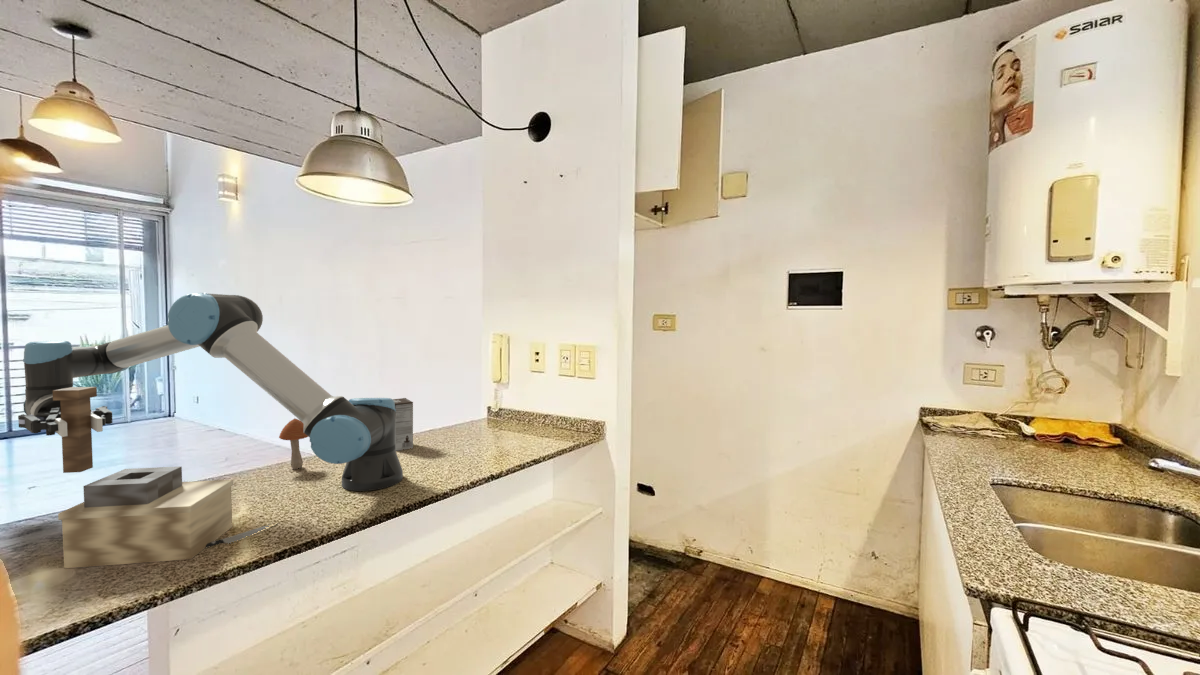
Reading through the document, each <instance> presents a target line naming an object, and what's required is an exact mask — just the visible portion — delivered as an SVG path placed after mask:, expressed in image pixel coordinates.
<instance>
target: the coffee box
mask: <svg viewBox="0 0 1200 675" xmlns="http://www.w3.org/2000/svg"><path fill="white" fill-rule="evenodd" d="M393 400H394V402H395V409H396V412H395V448H396V452H397V451H404V450H410V448H411V449H414V438H413V437H414V401H412V400H409V399H408V398H406V397H403V398H402V397H401V398H393ZM403 449H404V450H403Z"/></svg>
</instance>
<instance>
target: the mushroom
mask: <svg viewBox="0 0 1200 675" xmlns="http://www.w3.org/2000/svg"><path fill="white" fill-rule="evenodd" d="M303 428H304V424H303V422H302V421H300V420H299V419H298V418H293V419H291V420H289V421H288V423H287V424H286V425H284V427H283V428H282V429H281V431H280V433H279V436H278V439H280V440H282V441H289V442H290V448H291V449H290V450H291V457H290V466H291V469H292V468H293V469H292V470H299V469H301V468H302V467H303V463H304V462H303V457H302V454H301V450H300V440H302V439H303V440H305V438H309V437H308V436H307V435H306V434H305V433H304V432H303ZM298 468H299V469H298Z"/></svg>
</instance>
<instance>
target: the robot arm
mask: <svg viewBox="0 0 1200 675" xmlns="http://www.w3.org/2000/svg"><path fill="white" fill-rule="evenodd" d="M262 312H263V311H262V310H261V307H260V306H259V305H258V303H256V302H255V301H253V300H252V299H250V298H248V297H245V296H244V295H243V296H242V295H239V294H223V293H222V294H218V293H208V292H197V293H188V294H185V295H183V296H180V297H179V298H177V299H176V300H175V301H174V302H173V303H172V305H171V306H170V308H169V310H168V313H167V318H168V319H167V320H168V321H167V325H163V326H160V327H156V328H153V329H150V330H149V329H148V330H147V331H143V332H139V333H136V334H132V335H129V336H125V337H122V338H119V339H116V340H112V341H109V342H105V343H102V344H98V345H91V346H76V347H72V343H71V342H70V341H67V340H38V341H30V342H28V343H26V344H25V345H24V351H23V361H22V362H23V366H24V380H25V381H24V382H25V393H24V395H25V396H24V397H25V400H24V401H23V412H24V413H22V414H20V415H18V416H17V419H18V422H17V423H18V428H23V429H26V430H27V431H29V432H30V433H32V434H40V433H42V430H44V431H45V436H55V435H56V434H57V435H59V436H60V437H61V438H62V437H65V436H68V435H67V422H65V421H64V420H62V419H61V405H60V400H53V390H58V389H64V388H70V387H74V379H75V378H82V377H83V378H84V377H90V376H98V375H106V374H107V375H112V374H116V373H119V372H123V371H126V370H128V369H129V368H130V367H133V366H136V365H139V364H143V363H146V362H150V361H153V360H157V359H160V358H161V359H162V358H165V357H167V356H168V357H169V356H170V355H175V354H179V353H181V352H186V351H189V350H191V349H195V348H199V347H200V348H201V349H202V350H204V351H205V352H206V353H207V354H208V355H210V356H211V357H213V358H218V359H222V358H225V359H226V360H227V361H229V362H230V363H231V364H232V365H233V366H235V367H236V368H237V369H238V370H239V371H240V372H242V373H243V374H244V375H246V376H247V377H248V378H249V379H250V380H252V382H254V383H255V384H256V385H257V386H258V387H260V388H261V389H262V390H263V391H264V392H266V394H268V395H269V396H271V397H272V398H273V399H274V400H275V401H276V402H278V403H279V404H280V405H281V406H282V407H284V408H285V409H286V410H287V411H288V412H289V413H291V414H292V415H293V416H294V417H295V418H296V419H298V420H300V421H301V422H303V424H304V428H303V432H304V433H305V434H306V435H307V436H308V437H307V438H309V442H310V448H311V450H312V452H313V454H315V456H316V457H318V458H319V459H320V460H322V461H323V462H325V463H329V464H333V465H338V464H345V466H344V469H343V472H342V475H341V487H342V488H343V489H345V490H349V491H353V492H355V491H357V492H358V491H359V492H365V491H376V490H381V489H385V488H388V487H392V486H394V485H398V484H399V483H400V482H401V481H403V478H404V477H403V474H404V473H403V472H404V471H403V468H402V465H401V462H400V459H399V458H398V454H397V451H396V448H395V412H396V409H395V402H394V400H393V399H394V398H393V399H392V398H390V397H358V398H357V397H356V398H350V399H349V400H348V399H347V398H345V397H344V396H342V395H341V396H338V395H337V396H333V395H331V394H330V393H329V392H328V391H327V390H326V389H324V388H323V387H322V386H321V385H319V384H318V382H316V381H315V380H314V379H313V378H311V377H310V376H309V375H308V374H307V373H305V371H303V370H302V369H301V368H300V367H298V366H297V365H296V364H295V363H294V362H293V361H292V360H290V359H289V358H288V357H287V356H285V355H284V354H283V353H282V352H280V351H279V349H277V348H276V347H275V346H273V345H272V344H271V343H270V342H269V341H267V339H265V338H264V337H263V336H262V335H260V334H259V333H258V331H259V330H260V329H261V327H262V325H263V321H264V317H263V313H262ZM111 424H113V411H112V410H110V409H108V406H107V405H102V406H99V407H96V408H95V409H94V410H92V409H91V430H93V431H95V432H97V433H99V432H101V433H102V432H103V430H104V428H103V426H106V425H111Z"/></svg>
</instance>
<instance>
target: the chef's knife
mask: <svg viewBox="0 0 1200 675" xmlns="http://www.w3.org/2000/svg"><path fill="white" fill-rule="evenodd" d="M265 527H269V526H266V525H263V526H261V527H256V528H254V529H249V530H247V531H244V532H242V533H241V532H240V533H238V534H234V535H232V536H228V537H225V538H222V539H221V538H220V539H216V540H215V541H213V542H210V543H208V544H207V545H206V547H207V548H210V547H214V546H216V544H217V545H220V544H226V543H228V544H227V545H230V544H232V543H231V542H233V543H235V542H234V541H236V542H238V541H240V539H241V540H243V539H242V538H244V539H246V538H245V537H246V536H249V537H251V536H250V535H252V534H254V533H257V532H258V531H261V530H263V529H266V528H265ZM252 536H253V535H252ZM237 540H238V541H237ZM219 543H220V544H219ZM229 543H230V544H229ZM213 545H214V546H213ZM209 546H210V547H209ZM206 547H205V549H206Z"/></svg>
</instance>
